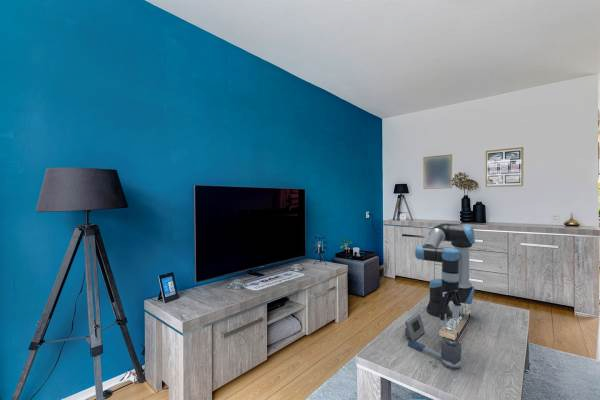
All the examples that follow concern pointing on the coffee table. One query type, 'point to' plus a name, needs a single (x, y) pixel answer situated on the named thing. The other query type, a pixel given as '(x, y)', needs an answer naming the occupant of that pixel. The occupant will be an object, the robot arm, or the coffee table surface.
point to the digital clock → (414, 327)
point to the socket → (451, 351)
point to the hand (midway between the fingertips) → (449, 321)
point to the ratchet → (432, 354)
